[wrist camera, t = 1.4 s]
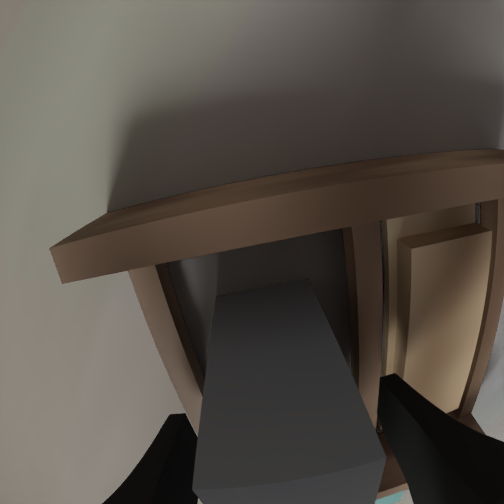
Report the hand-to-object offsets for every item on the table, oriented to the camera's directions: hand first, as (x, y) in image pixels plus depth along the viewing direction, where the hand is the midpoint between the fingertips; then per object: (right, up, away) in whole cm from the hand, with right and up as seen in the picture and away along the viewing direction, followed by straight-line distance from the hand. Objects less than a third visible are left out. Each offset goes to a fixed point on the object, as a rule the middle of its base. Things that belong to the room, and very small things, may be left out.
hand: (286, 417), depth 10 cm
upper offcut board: (+7, +2, +2) cm, 8 cm away
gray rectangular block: (0, +1, +3) cm, 3 cm away
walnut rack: (+3, +1, +3) cm, 4 cm away
